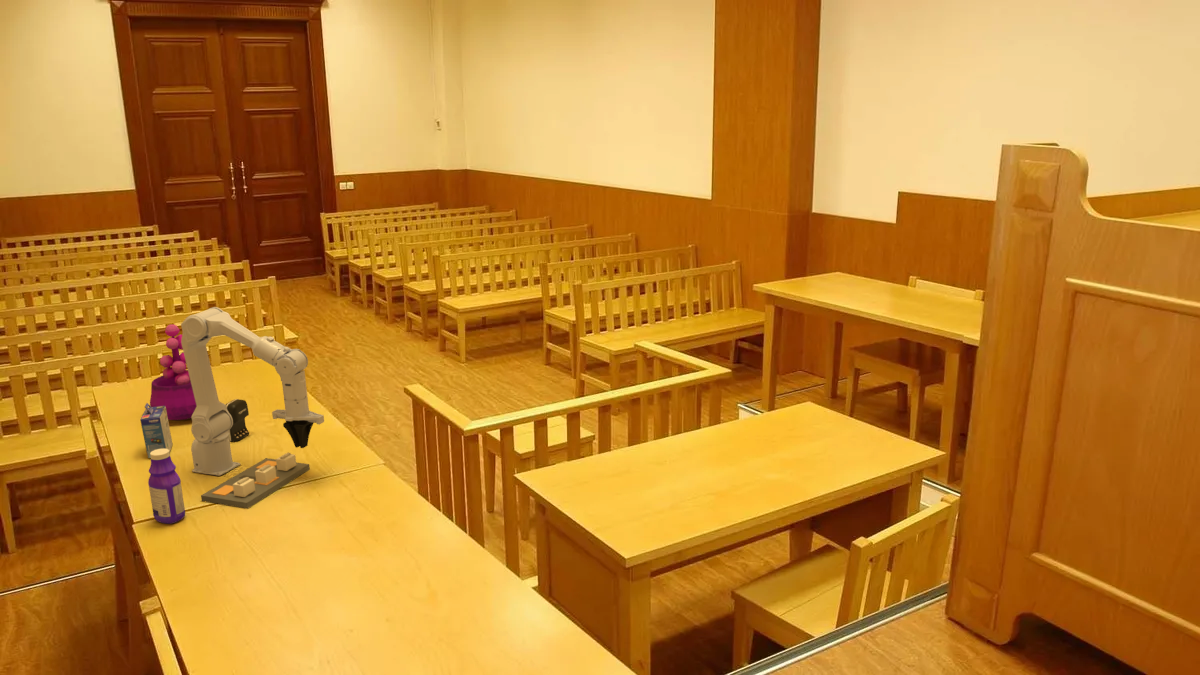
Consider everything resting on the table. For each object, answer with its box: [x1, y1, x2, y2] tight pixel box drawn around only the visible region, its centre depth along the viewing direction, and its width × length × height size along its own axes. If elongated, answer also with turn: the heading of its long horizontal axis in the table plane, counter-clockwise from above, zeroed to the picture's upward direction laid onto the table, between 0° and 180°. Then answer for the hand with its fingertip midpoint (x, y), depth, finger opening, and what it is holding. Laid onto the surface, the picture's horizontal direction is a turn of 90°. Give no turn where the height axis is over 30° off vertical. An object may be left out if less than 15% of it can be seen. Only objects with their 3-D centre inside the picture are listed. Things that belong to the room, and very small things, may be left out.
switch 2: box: [255, 464, 276, 484], centre depth 222 cm, size 3×4×4 cm
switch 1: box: [233, 477, 255, 497], centre depth 214 cm, size 3×4×4 cm
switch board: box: [200, 457, 311, 509], centre depth 223 cm, size 14×24×2 cm, turn 161°
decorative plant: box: [149, 324, 197, 421], centre depth 269 cm, size 19×19×30 cm
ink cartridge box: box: [140, 402, 173, 459], centre depth 244 cm, size 10×6×14 cm, turn 18°
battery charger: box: [225, 398, 250, 442], centre depth 253 cm, size 7×4×11 cm, turn 167°
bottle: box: [147, 449, 186, 525], centre depth 203 cm, size 7×6×17 cm
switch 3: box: [275, 452, 297, 471], centre depth 229 cm, size 3×4×4 cm
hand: (301, 446), depth 226 cm, fingers closed
